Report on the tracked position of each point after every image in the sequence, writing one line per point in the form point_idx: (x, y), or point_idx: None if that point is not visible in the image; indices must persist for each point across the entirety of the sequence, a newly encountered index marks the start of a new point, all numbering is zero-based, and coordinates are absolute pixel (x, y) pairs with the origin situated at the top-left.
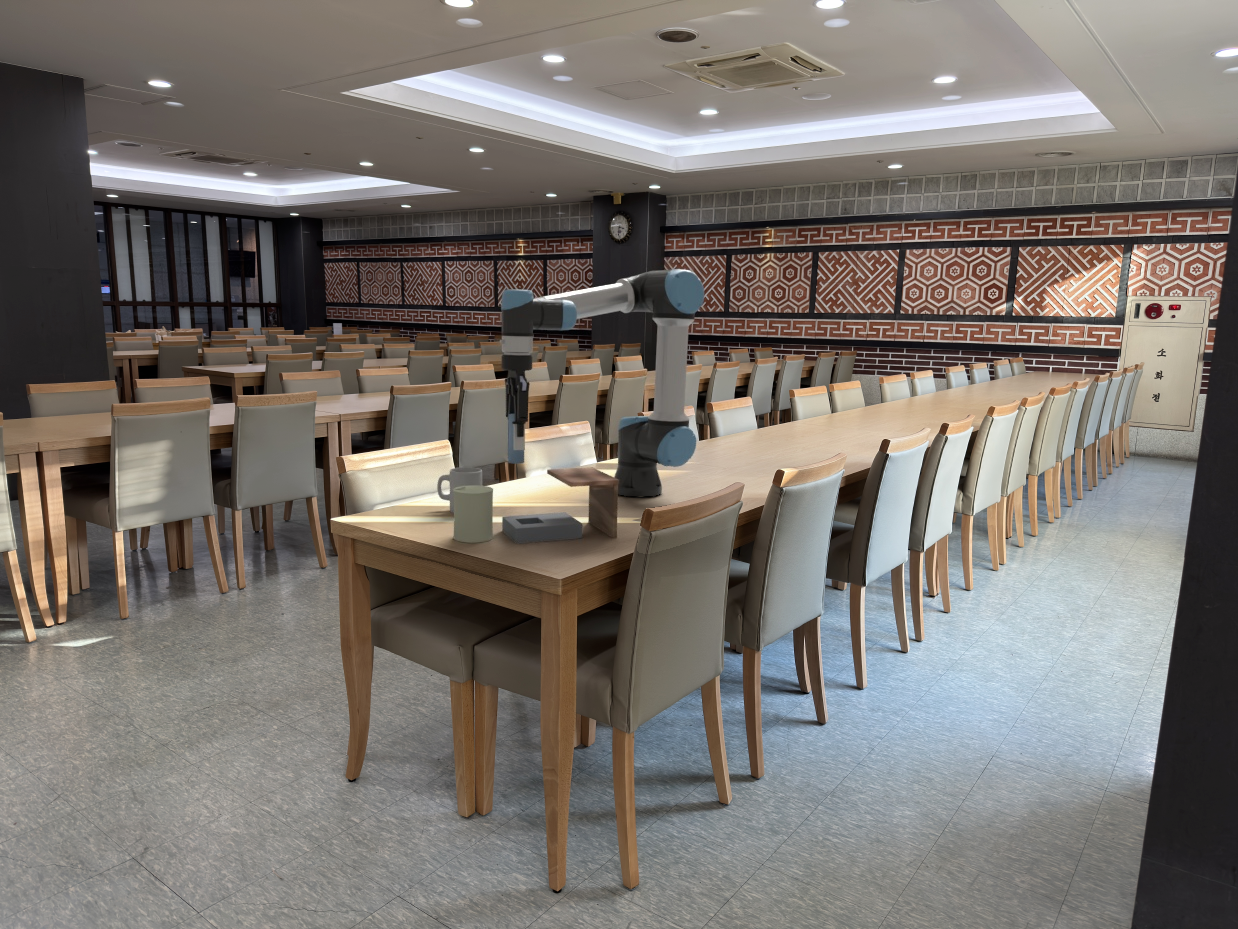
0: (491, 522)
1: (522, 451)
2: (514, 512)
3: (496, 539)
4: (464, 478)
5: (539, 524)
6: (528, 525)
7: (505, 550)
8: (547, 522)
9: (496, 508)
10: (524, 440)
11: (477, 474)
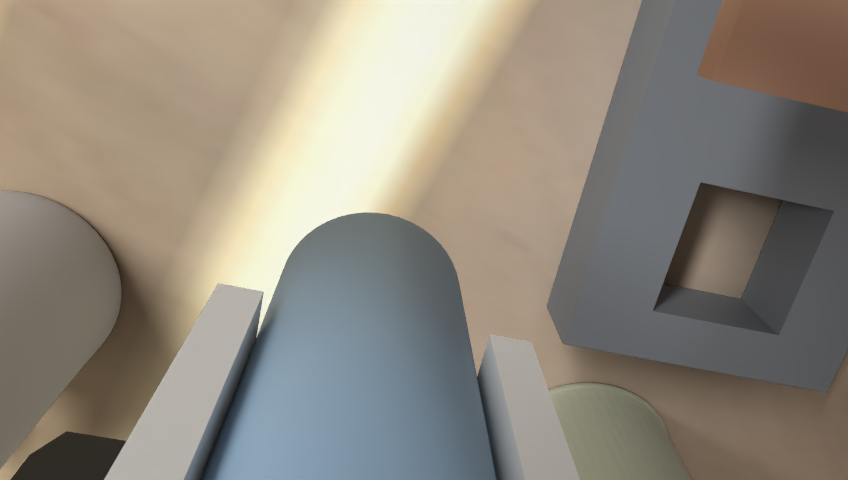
0: (677, 459)
1: (466, 330)
2: (175, 43)
3: (667, 392)
4: (7, 454)
5: (842, 254)
6: (818, 314)
7: (840, 432)
8: (837, 192)
9: (21, 93)
10: (559, 429)
11: None
